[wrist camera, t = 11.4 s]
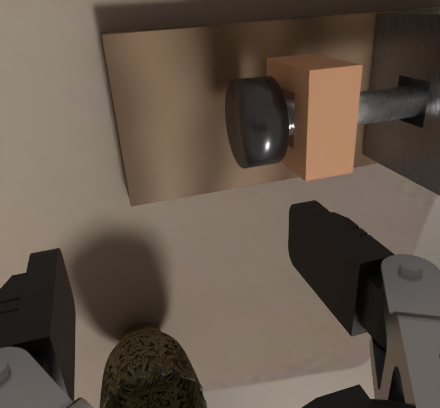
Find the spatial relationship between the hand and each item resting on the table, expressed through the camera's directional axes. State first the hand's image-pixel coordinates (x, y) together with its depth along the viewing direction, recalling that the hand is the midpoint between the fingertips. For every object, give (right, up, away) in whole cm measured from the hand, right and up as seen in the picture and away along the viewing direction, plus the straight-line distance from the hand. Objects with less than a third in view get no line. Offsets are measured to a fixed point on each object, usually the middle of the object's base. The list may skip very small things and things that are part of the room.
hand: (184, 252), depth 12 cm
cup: (-6, -10, +23) cm, 26 cm away
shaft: (+7, +8, +15) cm, 18 cm away
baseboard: (+6, +9, +18) cm, 21 cm away
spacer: (+6, +8, +15) cm, 18 cm away
